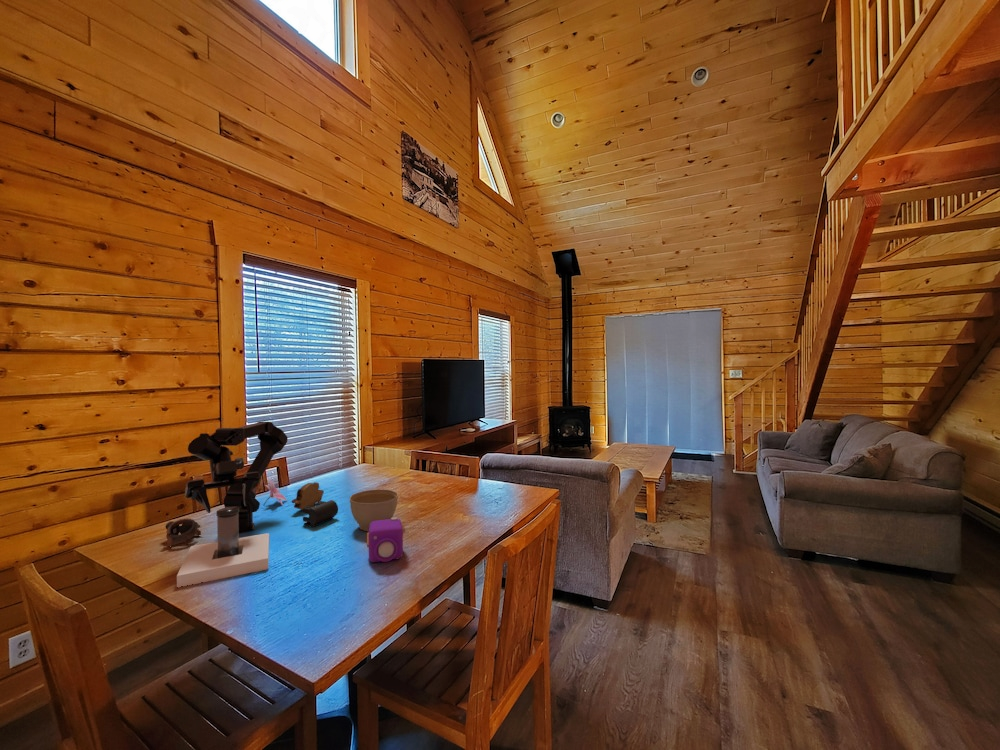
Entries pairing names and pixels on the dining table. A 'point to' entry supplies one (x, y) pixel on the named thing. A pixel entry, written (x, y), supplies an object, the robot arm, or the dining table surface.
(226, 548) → the tube
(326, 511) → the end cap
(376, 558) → the toy camera
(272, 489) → the lily
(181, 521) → the brown hollow sculpture
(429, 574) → the dining table surface
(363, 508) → the planter bowl
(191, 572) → the mount plate
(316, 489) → the wooden carving
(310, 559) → the dining table surface
